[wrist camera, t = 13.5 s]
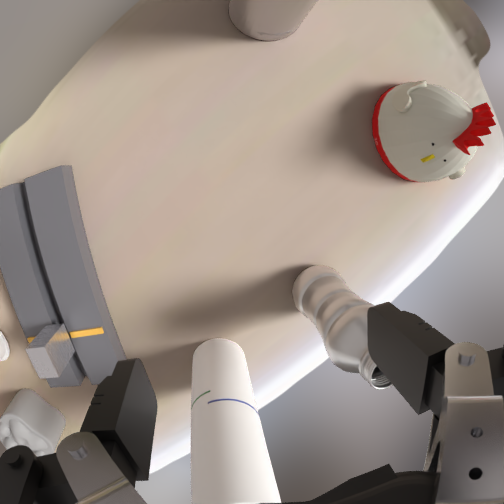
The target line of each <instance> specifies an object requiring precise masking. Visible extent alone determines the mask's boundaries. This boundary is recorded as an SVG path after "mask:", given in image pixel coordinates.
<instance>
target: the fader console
mask: <svg viewBox="0 0 504 504" xmlns="http://www.w3.org/2000/svg"><path fill="white" fill-rule="evenodd" d="M0 268H1V271H2V274H3V277H4V281H5V284H6V287H7V290H8V292H9V295H10V298H11V301H12V304H13V306H14V309H15V312H16V314H17V317H18V319H19V322H20V324H21V327H22V329H23V331H24V334H25V336H26V338H27V341H28V343H29V344H30V343H31V342H32V341H33V339H34V338H35V337H36V336H37V335H38V334H39V333H40V331H41V330H42V329H43V328H44V327H45V326H48V325H55V324H61V323H65V325H66V328H67V330H68V333H69V335H70V340H71V342H72V344H73V347H74V349H75V352H74V354H73V355H72V357H71V359H70V360H69V362H68V363H67V365H66V367H65V368H64V370H63V372H62V373H61V375H60V377H56V378H46V380H47V382H48V383H49V385H50V387H68V386H80V385H81V383H82V381H83V379H84V377H85V376H88V378H89V380H90V382H91V384H92V385H94V384H100V383H101V382H102V381H103V380H104V379H105V378H106V377H107V376H112V373H113V371H114V368H115V366H116V363H117V361H120V360H127V358H126V356H125V353H124V351H123V348H122V345H121V343H120V340H119V338H118V335H117V332H116V330H115V327H114V324H113V321H112V319H111V316H110V313H109V310H108V307H107V304H106V301H105V298H104V295H103V292H102V289H101V286H100V283H99V279H98V276H97V273H96V269H95V266H94V262H93V259H92V255H91V252H90V248H89V244H88V240H87V237H86V233H85V229H84V224H83V220H82V216H81V212H80V207H79V202H78V198H77V193H76V188H75V183H74V177H73V172H72V166H58V167H56V168H53V169H50V170H47V171H44V172H42V173H39V174H36V175H34V176H31V177H28V178H26V179H25V182H23V183H16V184H11V185H9V186H6V187H4V188H1V189H0Z"/></svg>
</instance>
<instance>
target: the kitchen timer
mask: <svg viewBox="0 0 504 504" xmlns="http://www.w3.org/2000/svg"><path fill="white" fill-rule="evenodd" d="M493 116H494V115H493V114H492V112H491V110H490V107H489V105H488V104H487V103H484V104H481V105H479V106H476V107H474V108H471V107H470V105H469V104H468V103H467V102H466V101H465V100H463V99H462V98H461V97H460V96H459V95H457V94H456V93H454V92H452V91H450V90H448V89H446V88H444V87H442V86H439V85H434V84H427V83H426V81H419V82H408V83H404V84H401V85H398V86H395V87H392V88H390V89H388V90H387V91H386V92H385V93H384V94H382V95H381V97H380V98H379V100H378V102H377V104H376V105H375V109H374V113H373V118H372V129H373V137H374V141H375V145H376V148H377V150H378V152H379V154H380V156H381V158H382V160H383V162H384V163H385V164H386V165H387V166H388V167H389V169H390V170H391V171H392V172H393V173H395V174H396V175H398V176H399V177H401V178H403V179H405V180H409V181H413V182H431V181H437V180H441V179H443V178H445V177H448V176H449V178H450V179H456V178H459V177H461V176H462V175H463V174H464V173H465V168H464V167H465V166H466V165H467V163H468V162H469V161H470V160H471V158H472V157H473V156H474V154H475V152H476V150H477V147H478V146H483V145H484V144H483V142H482V141H481V139H480V136H484V135H488V134H491V131H490V130H489V128H488V127H490V126H494V125H496V123H495V122H494V120H493V118H492V117H493Z"/></svg>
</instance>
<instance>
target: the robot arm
mask: <svg viewBox="0 0 504 504" xmlns="http://www.w3.org/2000/svg"><path fill="white" fill-rule="evenodd" d="M317 1H318V0H230V3H229V16H230V19H231V21H232V23H233V24H234V25H235V26H236V28H237V29H239V30H240V31H241V32H242V33H244V34H246V35H248V36H249V37H252V38H255V39H259V40H264V41H274V40H280V39H283V38H286V37H288V36H289V35H291V34H293V33H294V32H295V31H296V30H297V28H298V27H299V25H300V24H301V23H302V21H303V20H304V18H305V17H306V16H307V15H308V13H309V12H310V10H311V9H312V8H313V6H314V5H315V4H316V2H317ZM367 336H368V351H369V354H370V357H371V359H372V360H373V362H374V363H375V364H376V365H377V366H378V368H379V369H380V370H381V371H382V372H383V373H384V375H385V376H386V377H387V378H388V379H389V381H390V382H391V383H392V384H393V385H394V386H395V387H396V389H397V390H398V391H399V392H400V394H401V395H402V396H403V397H404V398H405V400H406V401H407V402H408V403H409V404H410V406H411V407H412V408H413V409H414V410H415V412H416V413H417V414H418V415H419V414H421V413H424V412H426V411H428V410H430V409H431V410H432V411H433V416H432V421H431V429H430V437H429V443H428V450H427V456H426V461H425V466H424V470H423V471H406V472H399V473H394V471H393V469H392V468H391V466H390V465H389V464H387V465H385V466H383V467H380V468H378V469H375V470H373V471H370V472H368V473H365V474H363V475H360V476H357V477H354V478H351V479H349V480H348V481H346V482H344V483H342V484H341V485H339V486H337V487H336V488H334V489H332V490H330V491H328V492H327V493H325V494H323V495H321V496H319V497H317V498H315V499H313V500H311V501H306V502H289V503H259V504H504V345H503V348H498V349H495V350H490V351H486V350H485V349H484V348H483V347H481V346H480V345H477V344H474V343H470V342H462V343H457V344H454V343H453V342H452V341H450V340H449V339H448V338H446V337H445V336H444V335H443V334H441V333H440V332H438V331H437V330H436V329H435V328H432V326H431V325H429V324H428V323H425V321H424V320H423V319H421V318H420V317H418V316H417V315H415V314H412V313H409V312H406V311H400V310H399V309H398V308H396V307H395V306H394V305H393V304H391V303H390V302H386V303H383V304H379V305H376V306H373V307H370V308H369V309H368V312H367ZM156 415H157V400H156V396H155V393H154V390H153V388H152V386H151V383H150V381H149V379H148V376H147V374H146V371H145V369H144V366H143V364H142V362H141V360H140V359H139V358H134V359H127V360H120V361H117V363H116V366H115V368H114V371H113V373H112V376H107V377H106V378H105V379H104V380H103V381H102V382H101V383H100V384H99V385H98V387H97V389H96V392H95V394H94V397H93V399H92V401H91V405H90V406H89V409H88V411H87V414H86V416H85V419H84V422H83V424H82V427H81V429H80V432H77V433H73V434H71V435H69V436H67V437H66V438H65V439H63V440H62V441H61V443H60V444H59V446H58V448H57V451H56V453H52V454H48V455H43V456H38V457H37V456H36V455H35V454H34V452H33V451H32V450H31V449H30V448H29V447H27V446H25V445H17V446H14V447H11V448H9V449H8V450H6V451H5V452H4V453H3V454H2V456H1V457H0V504H147V503H146V502H145V501H144V500H143V498H142V497H141V496H140V495H139V494H138V493H137V491H136V490H135V482H136V481H142V480H143V481H145V480H148V478H149V469H150V460H151V452H152V444H153V436H154V429H155V422H156Z"/></svg>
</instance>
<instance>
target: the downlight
mask: <svg viewBox="0 0 504 504" xmlns="http://www.w3.org/2000/svg"><path fill="white" fill-rule="evenodd" d="M9 353H10V350H9V345H8V342H7V340H6V338H5V336H4V335H3V334H2V332H1V331H0V361H4V360H6V359H7V358H8V357H9Z"/></svg>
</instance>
